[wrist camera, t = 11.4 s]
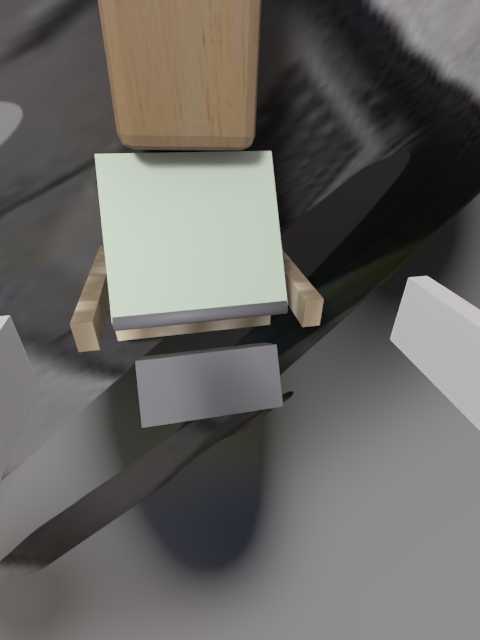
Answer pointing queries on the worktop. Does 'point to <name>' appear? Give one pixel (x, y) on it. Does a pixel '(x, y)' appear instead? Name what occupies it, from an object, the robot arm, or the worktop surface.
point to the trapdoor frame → (96, 307)
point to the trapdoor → (194, 272)
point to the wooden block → (183, 72)
